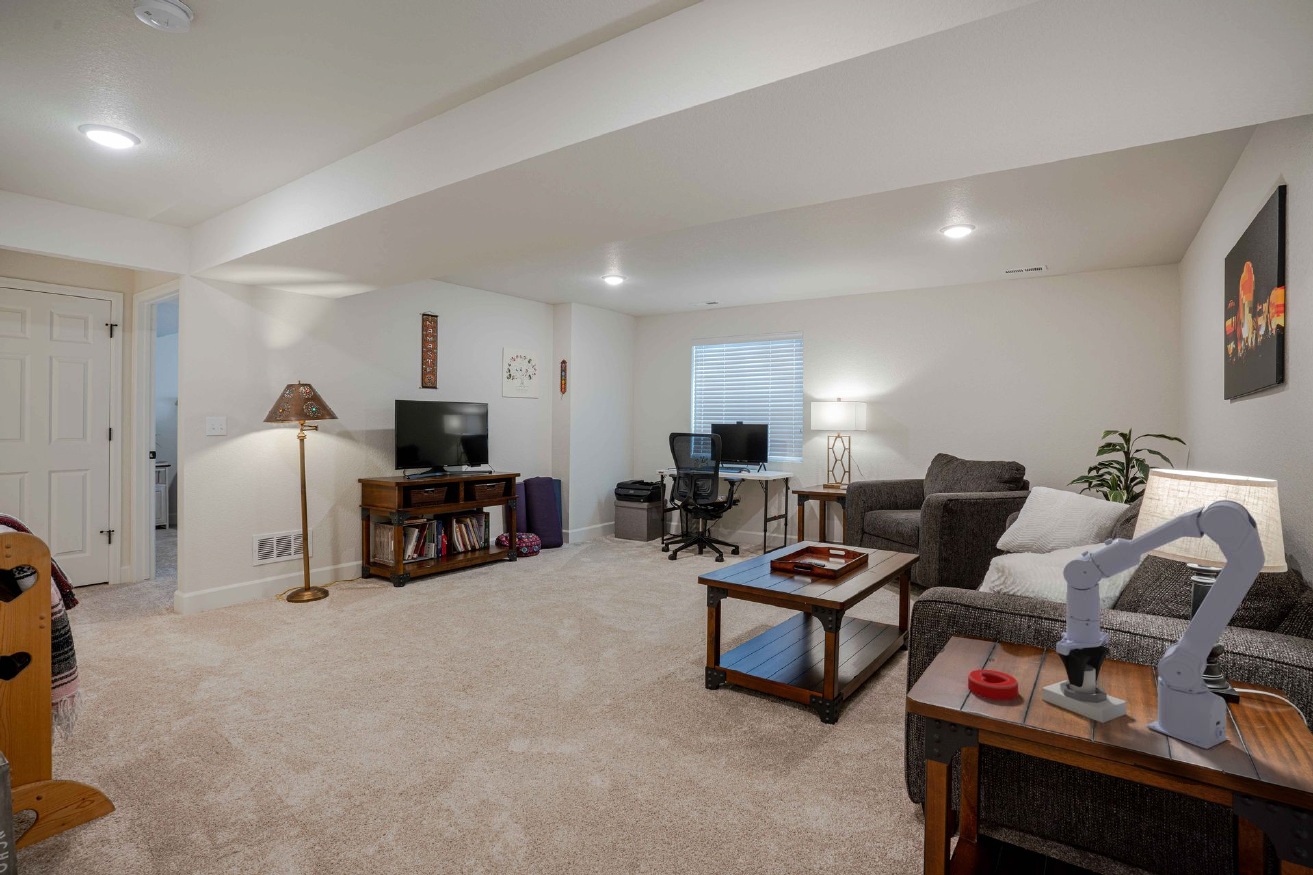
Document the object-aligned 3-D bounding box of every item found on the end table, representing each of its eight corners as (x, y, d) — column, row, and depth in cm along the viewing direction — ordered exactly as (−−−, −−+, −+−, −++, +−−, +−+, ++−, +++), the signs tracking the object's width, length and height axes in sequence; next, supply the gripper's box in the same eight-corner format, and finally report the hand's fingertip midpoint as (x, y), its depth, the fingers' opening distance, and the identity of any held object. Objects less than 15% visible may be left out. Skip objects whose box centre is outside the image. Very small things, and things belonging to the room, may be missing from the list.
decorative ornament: (1027, 700, 136) (1027, 685, 136) (983, 702, 135) (983, 687, 135) (1001, 681, 146) (1001, 668, 145) (959, 683, 145) (959, 669, 145)
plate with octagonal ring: (1126, 713, 128) (1126, 695, 128) (1102, 722, 125) (1102, 704, 125) (1065, 691, 139) (1065, 674, 139) (1041, 699, 136) (1041, 681, 136)
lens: (1100, 691, 131) (1100, 666, 131) (1087, 695, 129) (1087, 671, 129) (1077, 683, 135) (1077, 659, 135) (1065, 688, 133) (1065, 664, 133)
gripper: (1084, 606, 138) (1084, 669, 139) (1041, 617, 132) (1041, 682, 132) (1119, 615, 132) (1119, 680, 132) (1076, 626, 126) (1076, 695, 126)
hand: (1083, 682), depth 132 cm, fingers closed on lens, 4 cm apart
